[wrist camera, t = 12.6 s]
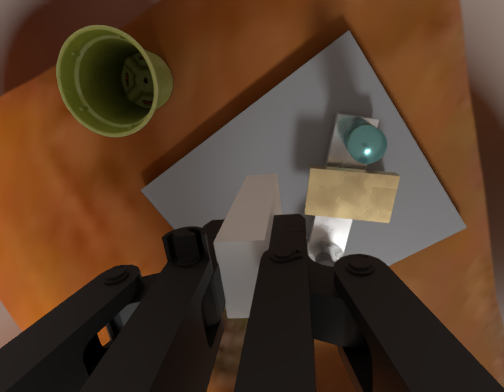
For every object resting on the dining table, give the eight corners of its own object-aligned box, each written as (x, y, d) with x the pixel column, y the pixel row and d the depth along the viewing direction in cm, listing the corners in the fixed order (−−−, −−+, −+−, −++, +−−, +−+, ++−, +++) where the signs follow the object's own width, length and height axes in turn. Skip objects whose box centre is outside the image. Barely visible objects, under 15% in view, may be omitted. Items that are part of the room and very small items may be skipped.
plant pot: (190, 125, 38) (161, 139, 30) (114, 122, 39) (66, 135, 31) (186, 36, 34) (152, 25, 26) (102, 35, 35) (45, 24, 27)
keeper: (379, 206, 37) (389, 223, 33) (303, 199, 37) (304, 214, 33) (388, 164, 35) (400, 176, 31) (309, 157, 36) (310, 168, 32)
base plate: (460, 221, 38) (466, 227, 36) (260, 321, 47) (259, 329, 45) (346, 31, 32) (348, 30, 31) (145, 186, 41) (140, 190, 40)
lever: (338, 273, 40) (348, 319, 32) (298, 266, 40) (298, 310, 33) (380, 118, 33) (405, 131, 25) (331, 111, 33) (341, 122, 26)
